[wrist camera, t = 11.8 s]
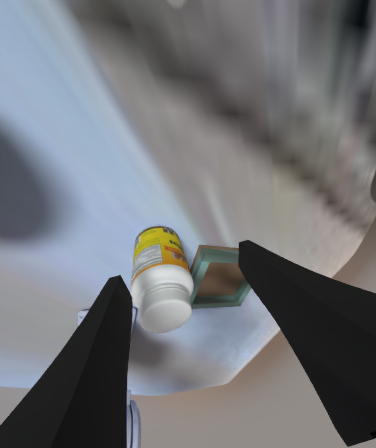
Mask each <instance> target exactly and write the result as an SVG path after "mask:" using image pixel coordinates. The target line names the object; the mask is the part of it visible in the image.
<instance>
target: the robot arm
mask: <svg viewBox="0 0 376 448" xmlns="http://www.w3.org/2000/svg"><path fill="white" fill-rule="evenodd" d="M238 267H239V268H240V270H241V272H242V274H243V276H244V277H245V279H246V281H247V282H248V284H249V285H250V286H251V288H252V289H253V290H254V292H255V293H256V295H257V296H258V297H259V299H260V300H261V301H262V303H263V304H264V305H265V307H266V308H267V309H268V311H269V312H270V314H271V315H272V316H273V318H274V319H275V321H276V322H277V324H278V326H279V327H280V329H281V331H282V332H283V334H284V335H285V337H286V339H287V340H288V342H289V344H290V346H291V347H292V349H293V351H294V352H295V354H296V356H297V357H298V359H299V361H300V363H301V365H302V366H303V368H304V370H305V372H306V373H307V375H308V377H309V379H310V381H311V383H312V384H313V386H314V388H315V390H316V392H317V394H318V396H319V398H320V400H321V401H322V403H323V405H324V407H325V409H326V411H327V413H328V415H329V417H330V419H331V421H332V423H333V425H334V427H335V429H336V430H337V432H338V433H339V435H340V436H341V438H342V439H343V441H344V442H345V444H346V445H347V446H348V447H349V446H352V445H356V444H358V443H362V442H365V441H368V440H372V439H375V438H376V293H373V292H370V291H366V290H363V289H360V288H357V287H354V286H351V285H348V284H345V283H342V282H340V281H337V280H334V279H331V278H329V277H326V276H324V275H321V274H318V273H316V272H313V271H311V270H309V269H306V268H304V267H302V266H300V265H297V264H295V263H293V262H291V261H289V260H287V259H285V258H283V257H281V256H279V255H277V254H275V253H273V252H271V251H269V250H267V249H265V248H263V247H261V246H259V245H257V244H255V243H253V242H251V241H249V240H246V241H242V242H239V257H238ZM135 314H136V309H135V308H133V306H132V296H131V294H130V292H129V290H128V288H127V287H126V285H125V283H124V281H123V279H122V277H121V275H119V276H115V277H112V278H109V279H108V281H107V282H106V284H105V286H104V287H103V289H102V290H101V292H100V294H99V295H98V297H97V298H96V300H95V302H94V303H93V305H92V306H91V308H90V310H84V311H80V312H79V313H78V328H77V329H76V331H75V332H74V333H73V335H72V336H71V338H70V339H69V341H68V342H67V344H66V345H65V346H64V348H63V349H62V350H61V352H60V353H59V354H58V356H57V357H56V358H55V360H54V361H53V362H52V364H51V365H50V366H49V367H48V369H47V370H46V371H45V373H44V374H43V375H42V376H41V378H40V379H39V380H38V381H37V383H36V384H35V385H34V386H33V387H32V389H31V390H30V391H29V392H28V393H27V395H26V396H25V397H24V398H23V399H22V401H21V402H20V403H19V404H18V405H17V407H16V408H15V409H14V410H13V411H12V412H11V414H10V415H9V416H8V417H7V418H6V420H5V421H4V422H3V423H2V424H1V425H0V448H140V447H141V418H140V412H139V409H138V407H137V405H136V403H135V401H134V400H130V395H131V390H127V372H128V359H129V349H130V339H131V334H132V329H133V324H134V319H135Z"/></svg>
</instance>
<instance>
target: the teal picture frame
mask: <svg viewBox="0 0 376 448" xmlns="http://www.w3.org/2000/svg"><path fill="white" fill-rule="evenodd" d="M238 257H239V248H229V247H218V246H207V245H199V248H198V250H197V253H196V256H195V259H194V261H193V264H192V267H191V270H190V273H191V275H192V279H193V283H194V287H193V292H192V294H191V296H190V304H191V308H192V309H197V308H215V307H232V306H241V304H242V302H243V301H244V299H245V298H246V296H247V294H248V293H249V291H250V289H251V286H250V285H249V284H248V282H247V281H246V279H245V277H244V276H243V274H242V272H241V270H240V268H239V267H238Z"/></svg>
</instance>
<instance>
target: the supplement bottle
mask: <svg viewBox="0 0 376 448" xmlns="http://www.w3.org/2000/svg"><path fill="white" fill-rule="evenodd" d="M193 287H194V283H193V279H192V275H191V273H190V270H189V267H188V264H187V261H186V258H185V255H184V252H183V249H182V247H181V244H180V241H179V238H178V236H177V234H176V233H175V231H174V230H172V229H171V228H169V227H167V226H164V225H153V226H150V227H147V228H145V229H144V230H142V231H141V232H140V233H139V235H138V236H137V238H136V241H135V248H134V258H133V268H132V280H131V292H130V294H131V296H132V302H133V304H134V305H135V306H136V307H137V308H138V309H139V310H140V324H141V326H142V328H143V329H145V330H146V331H149V332H153V333H164V332H169V331H172V330H175V329H177V328H179V327H181V326H182V325H184V324H185V323H186V322H187V321H188V320H189V318H190V317H191V314H192V308H191V304H190V296H191V294H192V292H193Z"/></svg>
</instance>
